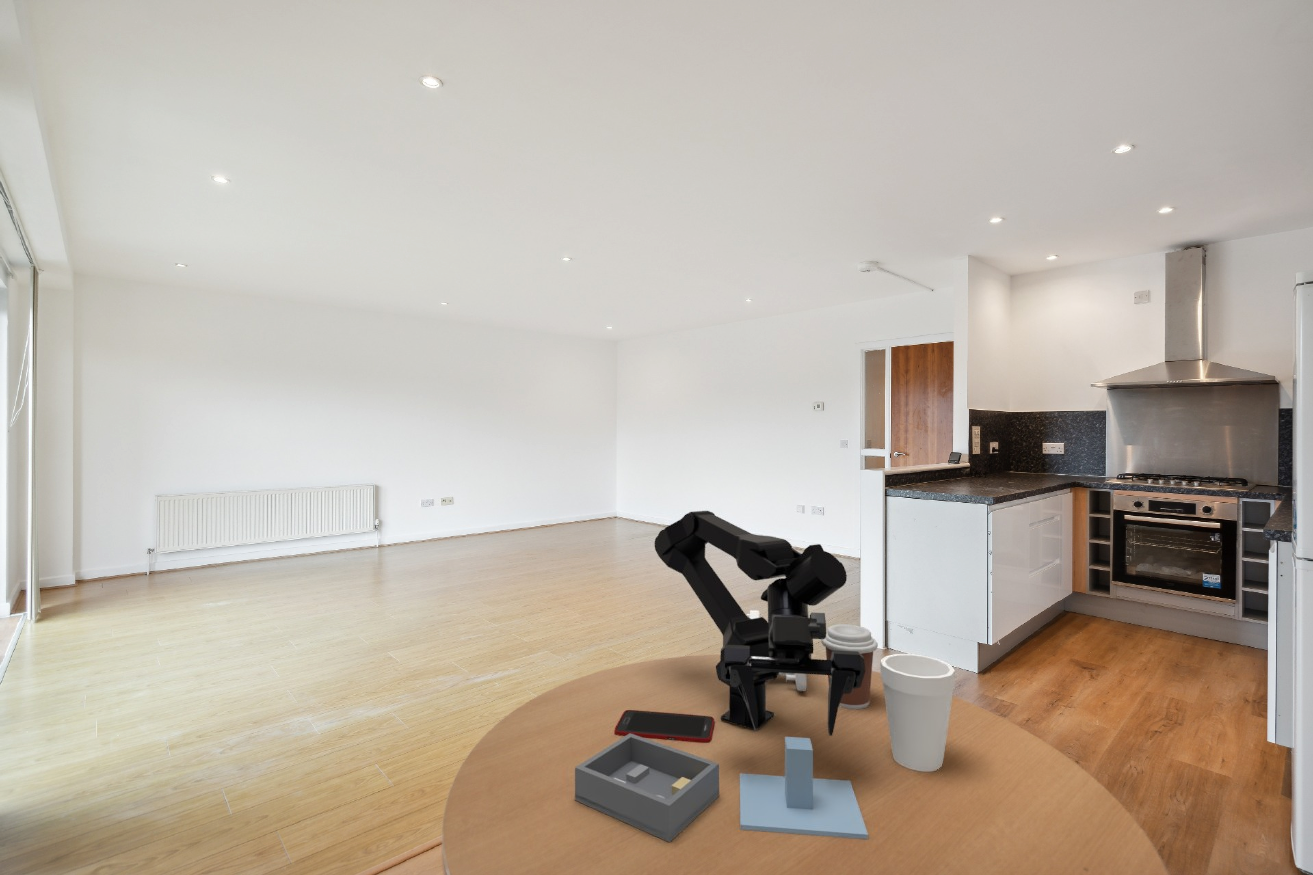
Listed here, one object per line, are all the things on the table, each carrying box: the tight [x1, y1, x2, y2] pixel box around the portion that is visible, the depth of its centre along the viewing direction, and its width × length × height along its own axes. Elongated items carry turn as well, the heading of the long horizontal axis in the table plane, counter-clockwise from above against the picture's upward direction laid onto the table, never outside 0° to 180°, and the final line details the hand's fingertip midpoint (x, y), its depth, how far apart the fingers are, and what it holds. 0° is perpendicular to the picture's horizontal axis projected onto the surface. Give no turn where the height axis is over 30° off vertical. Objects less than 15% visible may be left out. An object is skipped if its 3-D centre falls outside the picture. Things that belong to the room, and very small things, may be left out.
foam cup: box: [880, 653, 956, 773], centre depth 86 cm, size 10×9×13 cm
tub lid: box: [739, 736, 869, 840], centre depth 75 cm, size 11×14×8 cm
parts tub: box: [574, 733, 720, 843], centre depth 77 cm, size 11×14×4 cm
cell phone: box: [613, 709, 716, 744], centre depth 96 cm, size 8×15×1 cm, turn 80°
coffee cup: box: [820, 623, 879, 710], centre depth 106 cm, size 9×9×12 cm
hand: (793, 731), depth 78 cm, fingers open, 9 cm apart
